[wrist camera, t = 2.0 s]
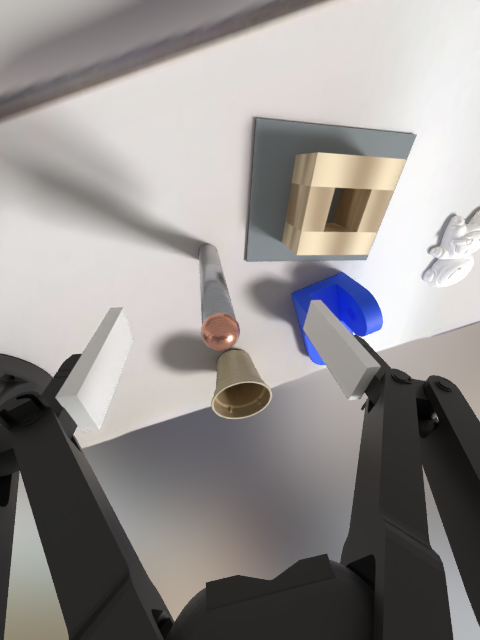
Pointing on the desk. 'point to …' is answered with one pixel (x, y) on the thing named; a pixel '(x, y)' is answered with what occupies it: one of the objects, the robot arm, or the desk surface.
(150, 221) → the desk surface
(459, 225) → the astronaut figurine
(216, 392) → the flower pot
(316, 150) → the mat
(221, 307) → the copper-tipped rod
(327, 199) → the block with square hole
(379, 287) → the desk surface
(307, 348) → the bracket
